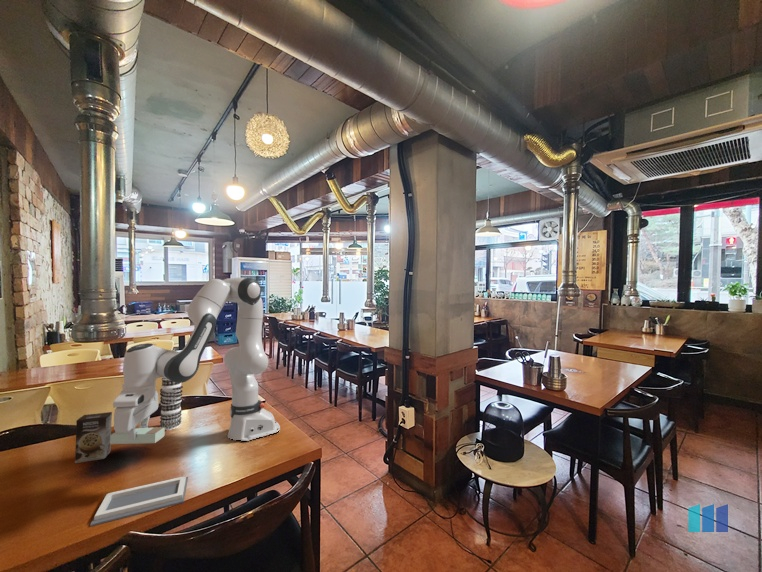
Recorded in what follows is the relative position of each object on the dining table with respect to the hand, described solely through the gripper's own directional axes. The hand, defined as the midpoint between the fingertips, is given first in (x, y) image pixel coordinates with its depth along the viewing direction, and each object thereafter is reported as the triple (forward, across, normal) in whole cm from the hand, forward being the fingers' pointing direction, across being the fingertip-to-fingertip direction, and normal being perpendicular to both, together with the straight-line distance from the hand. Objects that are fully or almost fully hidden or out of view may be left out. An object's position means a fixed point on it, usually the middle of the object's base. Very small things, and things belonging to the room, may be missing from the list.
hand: (138, 434), depth 105 cm
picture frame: (+17, +9, +6) cm, 20 cm away
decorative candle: (+17, -48, -9) cm, 51 cm away
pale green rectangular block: (+2, 0, 0) cm, 2 cm away
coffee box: (+17, -23, -26) cm, 39 cm away
